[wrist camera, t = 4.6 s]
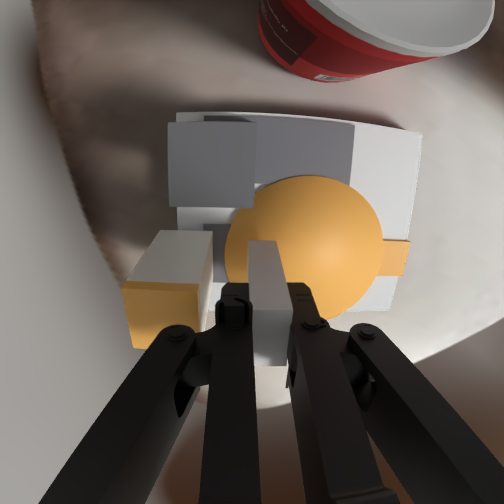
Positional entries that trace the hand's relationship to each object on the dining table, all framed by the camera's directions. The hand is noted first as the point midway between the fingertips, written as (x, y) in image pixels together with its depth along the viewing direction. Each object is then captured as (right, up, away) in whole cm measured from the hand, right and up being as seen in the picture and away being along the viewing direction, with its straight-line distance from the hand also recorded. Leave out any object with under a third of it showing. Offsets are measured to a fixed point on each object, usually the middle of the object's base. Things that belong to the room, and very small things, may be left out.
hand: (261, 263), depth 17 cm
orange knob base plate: (+2, +3, +2) cm, 5 cm away
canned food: (+4, +14, -2) cm, 15 cm away
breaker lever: (-4, 0, +1) cm, 4 cm away
